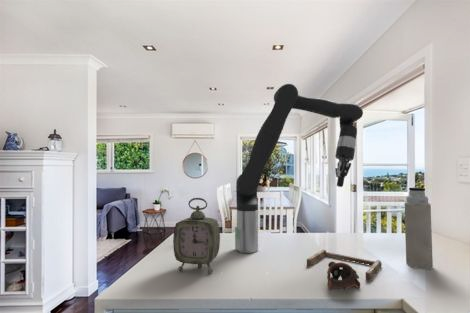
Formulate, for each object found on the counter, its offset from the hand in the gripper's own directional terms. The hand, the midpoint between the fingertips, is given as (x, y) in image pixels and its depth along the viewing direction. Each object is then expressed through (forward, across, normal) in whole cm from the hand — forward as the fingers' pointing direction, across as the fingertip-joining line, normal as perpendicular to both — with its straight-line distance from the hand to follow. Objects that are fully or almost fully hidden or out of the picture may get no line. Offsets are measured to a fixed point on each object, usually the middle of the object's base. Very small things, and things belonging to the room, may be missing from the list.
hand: (339, 186), depth 115 cm
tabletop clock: (+45, +14, -47) cm, 67 cm away
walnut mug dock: (+31, +10, +3) cm, 33 cm away
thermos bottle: (+24, +9, +29) cm, 39 cm away
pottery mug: (+36, +27, -3) cm, 45 cm away
